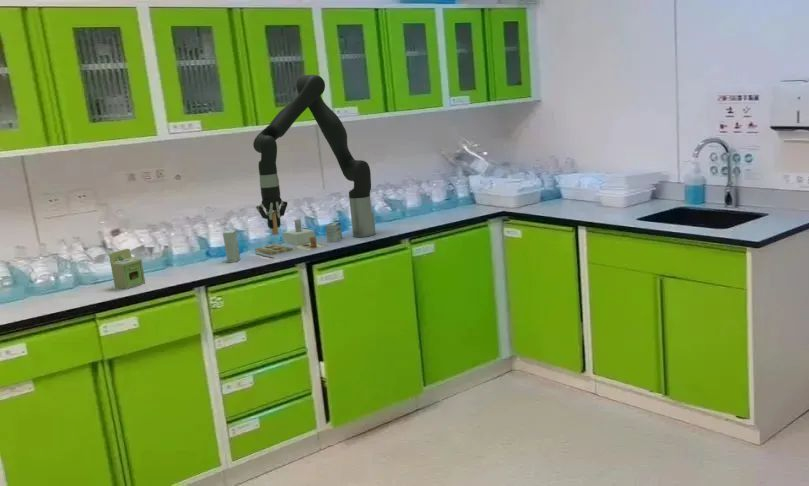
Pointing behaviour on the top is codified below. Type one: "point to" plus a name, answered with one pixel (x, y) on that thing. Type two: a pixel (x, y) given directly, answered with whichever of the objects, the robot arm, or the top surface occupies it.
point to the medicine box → (333, 232)
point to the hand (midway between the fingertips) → (274, 227)
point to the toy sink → (126, 269)
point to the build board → (273, 250)
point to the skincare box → (231, 246)
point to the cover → (298, 234)
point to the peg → (274, 224)
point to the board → (310, 245)
